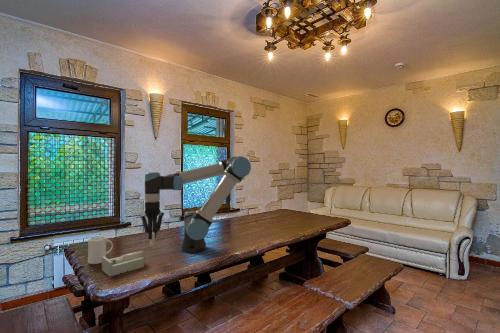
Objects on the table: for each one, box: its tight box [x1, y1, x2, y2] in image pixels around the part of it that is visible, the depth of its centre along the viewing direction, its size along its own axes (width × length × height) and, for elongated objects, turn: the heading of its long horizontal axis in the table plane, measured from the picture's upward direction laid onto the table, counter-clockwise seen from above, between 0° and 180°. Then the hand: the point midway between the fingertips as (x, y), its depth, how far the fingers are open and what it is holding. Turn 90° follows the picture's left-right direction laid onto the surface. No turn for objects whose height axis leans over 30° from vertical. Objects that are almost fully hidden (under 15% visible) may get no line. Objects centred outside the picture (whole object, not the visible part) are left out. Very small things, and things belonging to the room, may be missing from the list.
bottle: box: [112, 250, 146, 265], centre depth 133 cm, size 5×5×14 cm
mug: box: [87, 236, 114, 265], centre depth 140 cm, size 12×8×12 cm
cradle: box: [101, 256, 145, 278], centre depth 131 cm, size 16×10×6 cm, turn 138°
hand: (152, 244), depth 142 cm, fingers closed
